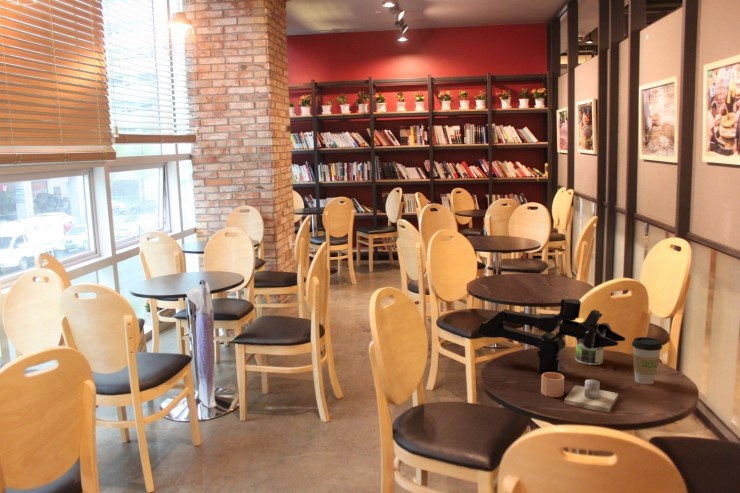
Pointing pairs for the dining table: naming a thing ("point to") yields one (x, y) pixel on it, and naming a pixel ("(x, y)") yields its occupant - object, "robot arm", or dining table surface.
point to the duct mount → (591, 397)
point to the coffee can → (588, 353)
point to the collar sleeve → (552, 384)
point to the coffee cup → (645, 359)
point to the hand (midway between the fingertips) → (621, 341)
